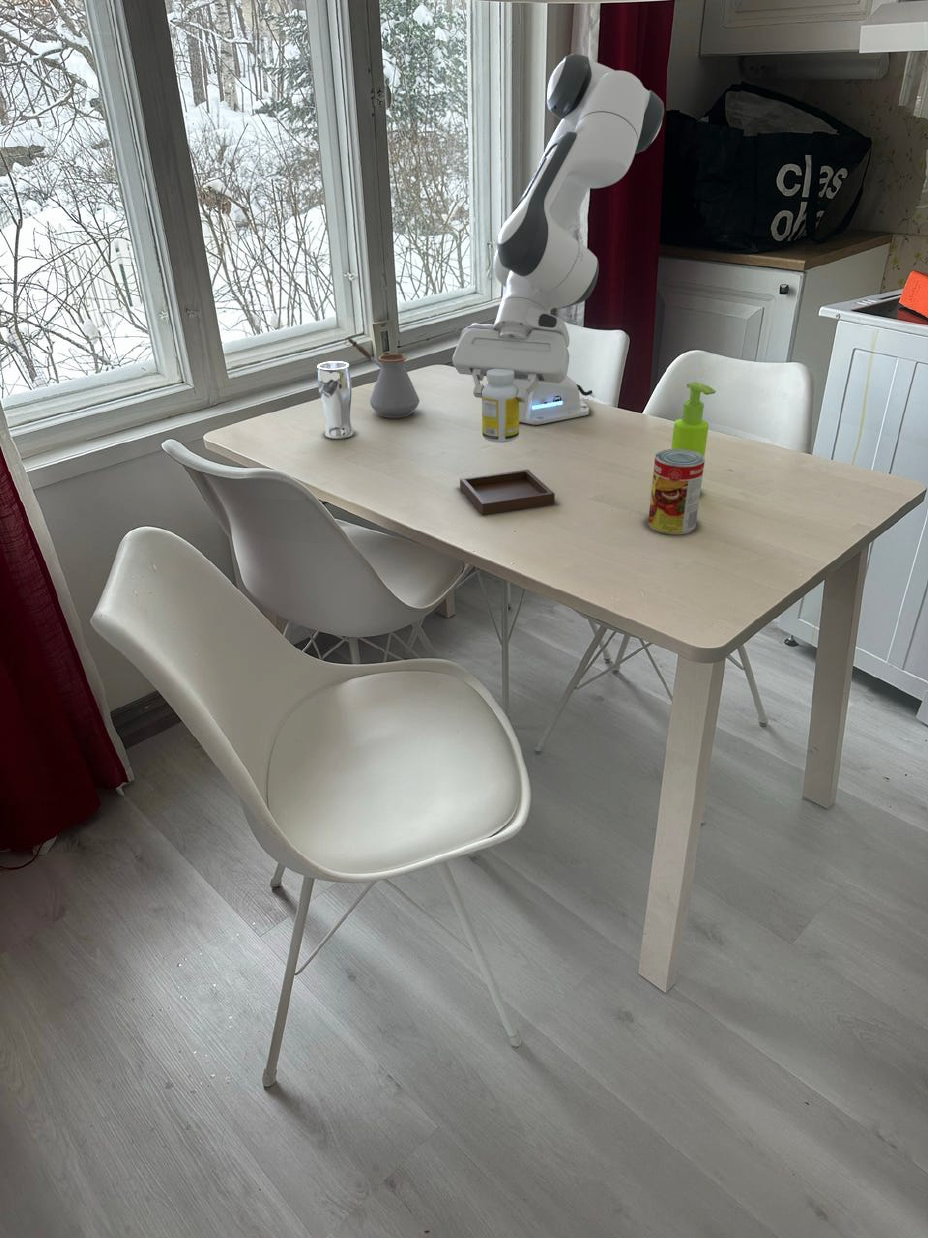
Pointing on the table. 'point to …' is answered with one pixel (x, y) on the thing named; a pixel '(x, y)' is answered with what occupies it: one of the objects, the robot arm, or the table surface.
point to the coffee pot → (391, 386)
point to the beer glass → (336, 398)
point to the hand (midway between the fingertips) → (499, 398)
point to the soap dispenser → (692, 422)
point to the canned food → (675, 491)
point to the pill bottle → (500, 407)
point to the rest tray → (506, 492)
